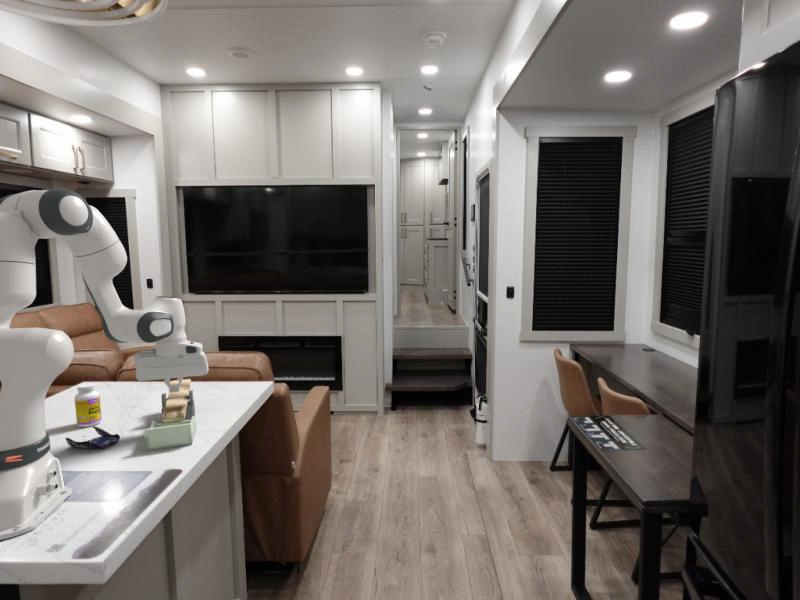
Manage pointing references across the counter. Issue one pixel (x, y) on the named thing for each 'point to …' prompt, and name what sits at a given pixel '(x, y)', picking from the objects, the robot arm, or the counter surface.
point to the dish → (170, 434)
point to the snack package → (96, 440)
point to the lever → (177, 402)
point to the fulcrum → (189, 410)
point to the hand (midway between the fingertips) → (174, 391)
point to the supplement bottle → (87, 405)
